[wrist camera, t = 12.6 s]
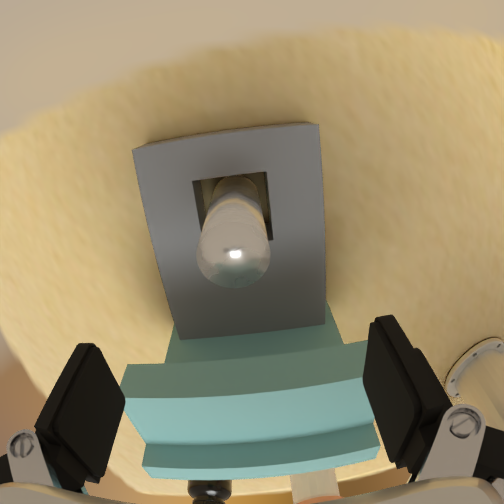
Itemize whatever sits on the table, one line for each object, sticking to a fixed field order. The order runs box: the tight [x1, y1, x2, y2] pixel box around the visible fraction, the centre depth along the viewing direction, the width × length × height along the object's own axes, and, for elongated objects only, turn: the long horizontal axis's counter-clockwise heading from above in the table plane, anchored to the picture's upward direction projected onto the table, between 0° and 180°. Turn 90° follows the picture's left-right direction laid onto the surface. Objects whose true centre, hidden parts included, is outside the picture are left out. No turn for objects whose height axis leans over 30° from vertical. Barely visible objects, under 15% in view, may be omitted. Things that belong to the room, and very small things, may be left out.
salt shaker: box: [290, 468, 343, 504], centre depth 33 cm, size 7×7×19 cm
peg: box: [196, 175, 270, 288], centre depth 23 cm, size 4×4×12 cm
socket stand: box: [120, 122, 381, 480], centre depth 22 cm, size 16×20×18 cm
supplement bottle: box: [188, 480, 232, 504], centre depth 40 cm, size 7×7×12 cm
